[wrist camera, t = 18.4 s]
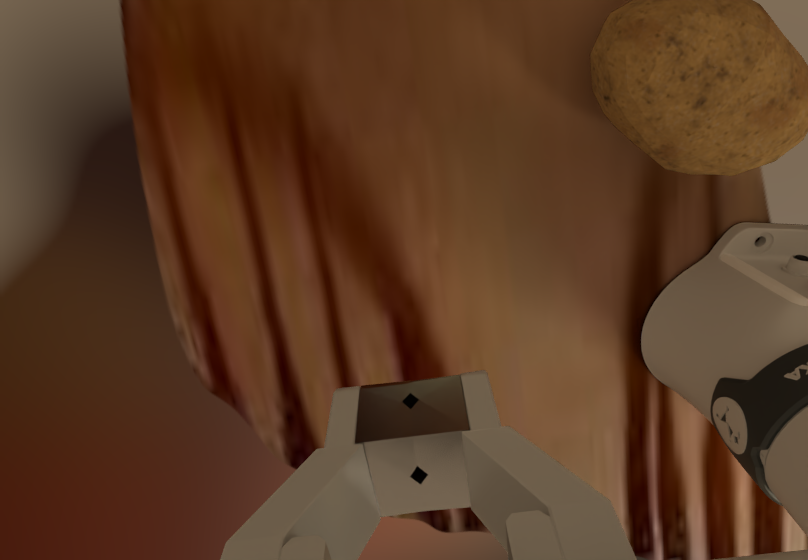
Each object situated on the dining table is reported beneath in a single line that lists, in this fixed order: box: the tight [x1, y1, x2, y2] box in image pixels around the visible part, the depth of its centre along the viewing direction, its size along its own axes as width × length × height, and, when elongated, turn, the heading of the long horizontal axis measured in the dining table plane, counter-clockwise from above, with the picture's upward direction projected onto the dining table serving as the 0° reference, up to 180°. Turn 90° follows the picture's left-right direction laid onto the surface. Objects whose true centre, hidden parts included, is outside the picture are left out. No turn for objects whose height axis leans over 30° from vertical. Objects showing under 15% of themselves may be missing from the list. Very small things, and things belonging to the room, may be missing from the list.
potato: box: [590, 0, 808, 176], centre depth 31 cm, size 10×14×8 cm
